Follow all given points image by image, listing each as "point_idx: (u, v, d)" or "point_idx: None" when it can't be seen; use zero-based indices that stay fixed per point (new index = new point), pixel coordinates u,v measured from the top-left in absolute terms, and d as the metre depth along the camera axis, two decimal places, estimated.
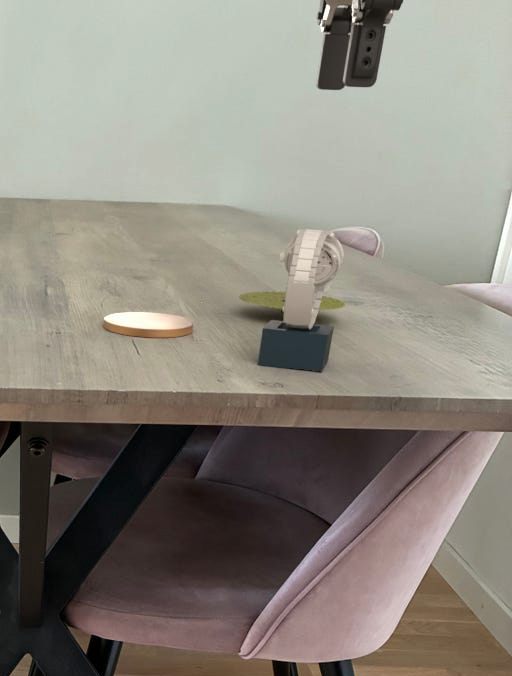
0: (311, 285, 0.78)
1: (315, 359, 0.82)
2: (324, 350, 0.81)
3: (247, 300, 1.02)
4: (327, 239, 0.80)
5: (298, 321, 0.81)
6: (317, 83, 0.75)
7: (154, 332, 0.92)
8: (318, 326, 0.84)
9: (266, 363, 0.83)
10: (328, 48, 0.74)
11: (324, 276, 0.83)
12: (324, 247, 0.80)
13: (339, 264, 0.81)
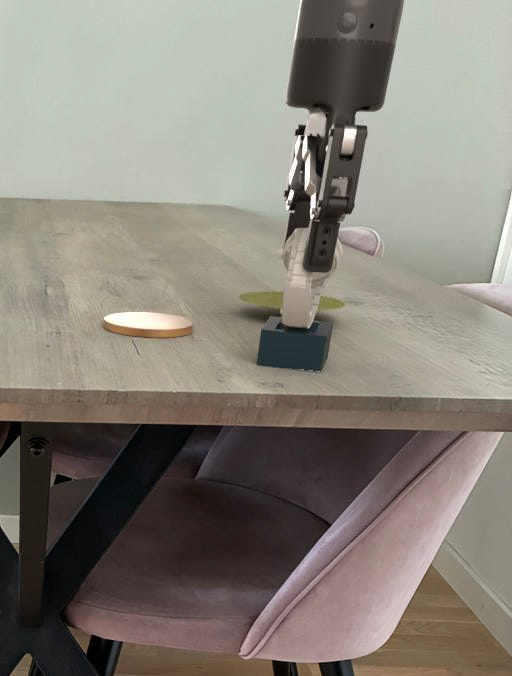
0: (308, 289, 0.77)
1: (313, 360, 0.82)
2: (323, 351, 0.81)
3: (247, 300, 1.02)
4: None
5: (296, 323, 0.80)
6: None
7: (154, 332, 0.92)
8: (317, 323, 0.84)
9: (265, 363, 0.83)
10: (292, 225, 0.82)
11: None
12: None
13: (338, 261, 0.81)
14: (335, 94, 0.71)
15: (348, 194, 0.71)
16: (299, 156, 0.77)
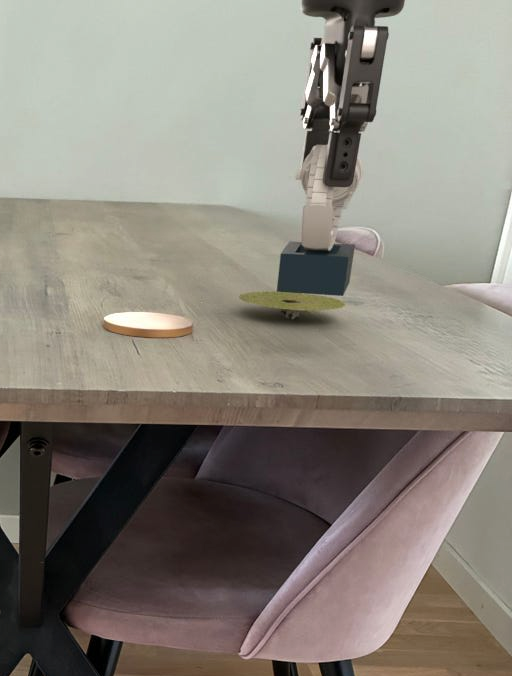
0: (329, 207, 0.75)
1: (336, 283, 0.79)
2: (345, 273, 0.79)
3: (247, 300, 1.02)
4: None
5: (317, 244, 0.78)
6: None
7: (154, 332, 0.92)
8: (338, 245, 0.81)
9: (285, 289, 0.81)
10: (310, 143, 0.80)
11: (343, 192, 0.80)
12: None
13: (358, 179, 0.78)
14: None
15: (369, 100, 0.69)
16: (316, 68, 0.75)
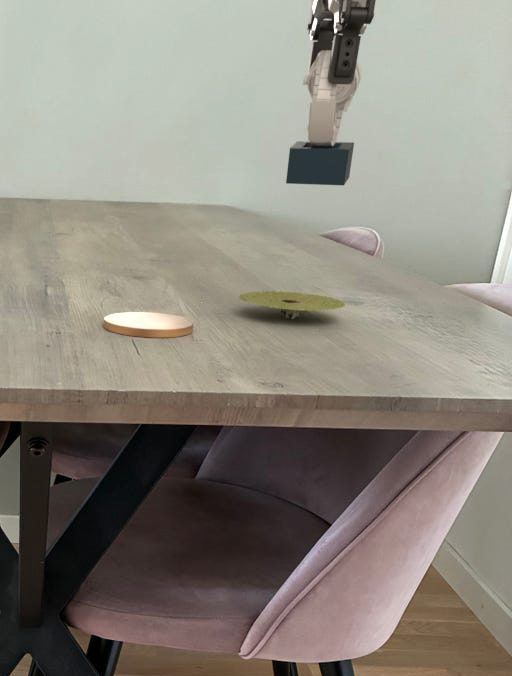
0: (332, 102, 0.87)
1: (337, 174, 0.92)
2: (346, 164, 0.91)
3: (247, 300, 1.02)
4: None
5: (321, 138, 0.90)
6: None
7: (154, 332, 0.92)
8: (340, 143, 0.93)
9: (294, 181, 0.93)
10: (316, 53, 0.92)
11: (344, 95, 0.92)
12: None
13: (357, 82, 0.90)
14: None
15: (368, 4, 0.81)
16: None
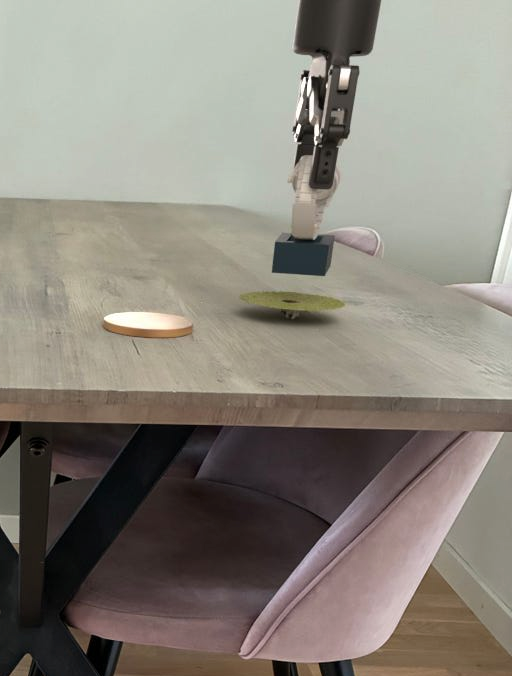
0: (313, 204, 0.95)
1: (319, 266, 0.99)
2: (326, 257, 0.99)
3: (247, 300, 1.02)
4: None
5: (304, 234, 0.98)
6: None
7: (154, 332, 0.92)
8: (321, 236, 1.01)
9: (278, 271, 1.01)
10: (300, 154, 1.00)
11: (325, 193, 0.99)
12: None
13: (337, 182, 0.98)
14: (333, 41, 0.88)
15: (344, 122, 0.89)
16: (304, 95, 0.95)
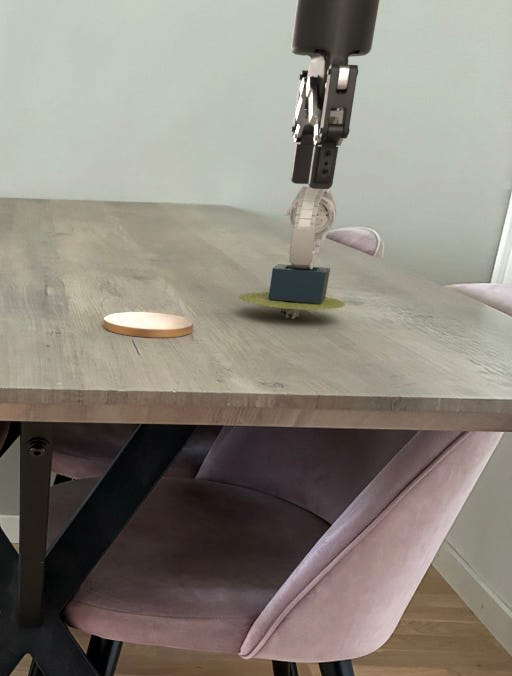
0: (312, 230, 0.97)
1: (315, 293, 1.01)
2: (322, 285, 1.00)
3: (247, 300, 1.02)
4: (324, 195, 0.99)
5: (301, 261, 1.00)
6: (291, 179, 1.01)
7: (154, 332, 0.92)
8: (317, 268, 1.03)
9: (275, 297, 1.02)
10: (299, 154, 1.00)
11: (322, 226, 1.02)
12: (322, 201, 0.99)
13: (334, 216, 1.00)
14: (331, 41, 0.88)
15: (344, 122, 0.89)
16: (303, 95, 0.95)
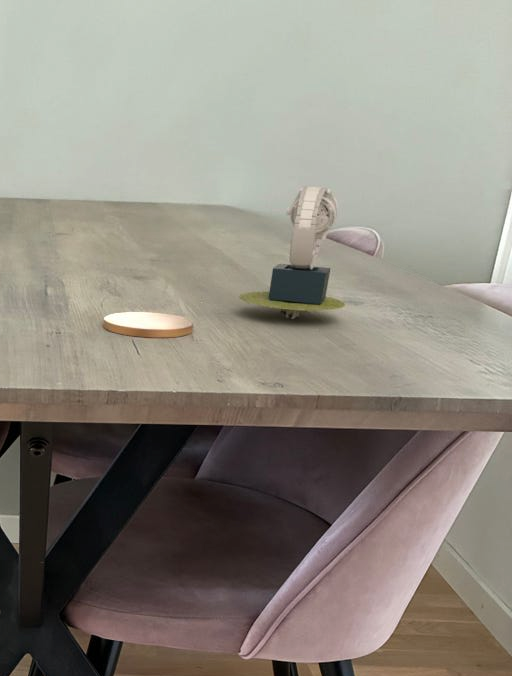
0: (312, 231, 0.97)
1: (315, 293, 1.01)
2: (323, 285, 1.00)
3: (247, 300, 1.02)
4: (325, 195, 0.99)
5: (301, 261, 0.99)
6: None
7: (154, 332, 0.92)
8: (317, 268, 1.03)
9: (275, 297, 1.02)
10: None
11: (322, 226, 1.02)
12: (322, 201, 0.99)
13: (334, 216, 1.00)
14: None
15: None
16: None
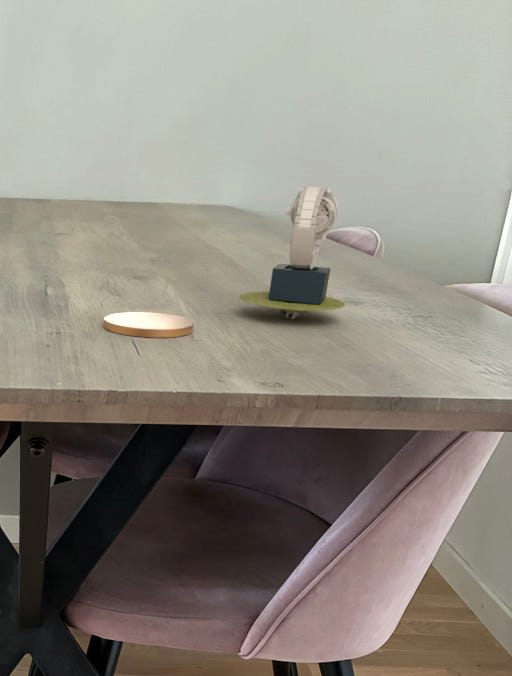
0: (312, 231, 0.97)
1: (315, 293, 1.01)
2: (323, 285, 1.00)
3: (247, 300, 1.02)
4: (325, 195, 0.99)
5: (301, 262, 0.99)
6: None
7: (154, 332, 0.92)
8: (317, 268, 1.03)
9: (275, 297, 1.02)
10: None
11: (322, 226, 1.02)
12: (322, 201, 0.99)
13: (334, 216, 1.00)
14: None
15: None
16: None
